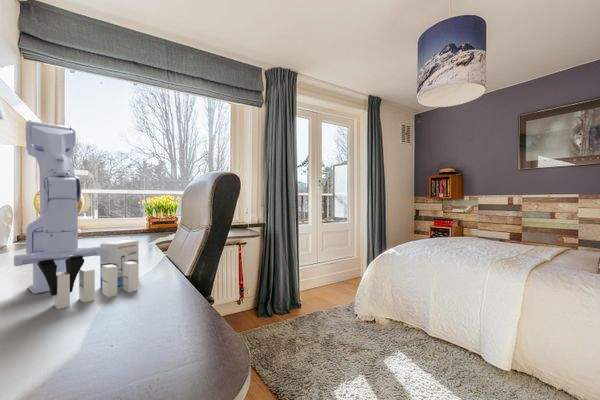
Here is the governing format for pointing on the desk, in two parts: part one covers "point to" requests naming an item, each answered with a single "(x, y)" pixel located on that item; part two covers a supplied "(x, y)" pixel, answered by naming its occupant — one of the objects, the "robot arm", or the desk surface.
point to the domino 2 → (87, 284)
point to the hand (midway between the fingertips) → (61, 293)
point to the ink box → (118, 256)
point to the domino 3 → (109, 280)
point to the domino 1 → (62, 290)
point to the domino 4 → (130, 276)
